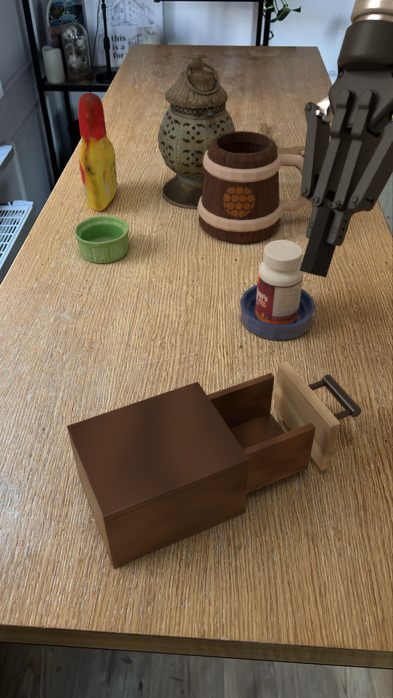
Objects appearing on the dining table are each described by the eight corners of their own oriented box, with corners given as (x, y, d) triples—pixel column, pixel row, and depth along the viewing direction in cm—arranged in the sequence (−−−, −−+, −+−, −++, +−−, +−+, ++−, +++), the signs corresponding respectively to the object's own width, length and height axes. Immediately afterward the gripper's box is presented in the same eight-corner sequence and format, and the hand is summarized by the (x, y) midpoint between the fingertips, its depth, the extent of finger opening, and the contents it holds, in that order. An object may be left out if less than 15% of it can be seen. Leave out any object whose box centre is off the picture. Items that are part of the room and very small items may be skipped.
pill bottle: (249, 306, 87) (253, 240, 80) (288, 300, 89) (296, 234, 81) (263, 332, 83) (269, 265, 75) (304, 325, 84) (314, 258, 77)
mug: (196, 245, 101) (195, 162, 91) (198, 203, 112) (198, 124, 102) (313, 246, 100) (325, 162, 90) (303, 204, 111) (313, 124, 101)
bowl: (327, 328, 84) (329, 314, 82) (262, 349, 81) (263, 335, 79) (288, 288, 91) (289, 275, 89) (227, 307, 88) (227, 293, 86)
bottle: (112, 217, 108) (99, 106, 95) (78, 215, 109) (60, 105, 95) (123, 187, 117) (112, 82, 104) (91, 186, 118) (77, 81, 104)
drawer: (315, 391, 74) (323, 348, 69) (366, 451, 66) (379, 407, 62) (180, 441, 68) (179, 397, 63) (221, 512, 61) (223, 469, 56)
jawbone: (277, 169, 123) (277, 160, 122) (230, 136, 137) (230, 128, 136) (313, 157, 126) (314, 148, 124) (263, 126, 140) (263, 117, 138)
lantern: (235, 178, 120) (240, 44, 103) (231, 212, 109) (236, 69, 92) (166, 175, 121) (160, 42, 104) (156, 209, 110) (148, 67, 93)
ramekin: (142, 250, 100) (140, 227, 97) (101, 272, 95) (98, 249, 92) (107, 231, 104) (104, 209, 101) (67, 252, 99) (62, 229, 97)
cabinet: (198, 435, 70) (197, 381, 64) (245, 512, 62) (249, 459, 56) (79, 479, 65) (66, 425, 59) (113, 568, 57) (102, 517, 51)
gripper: (310, 20, 58) (244, 254, 62) (432, 9, 49) (344, 285, 53) (351, 50, 63) (288, 265, 68) (469, 46, 54) (386, 294, 58)
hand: (312, 273), depth 60 cm, fingers closed
